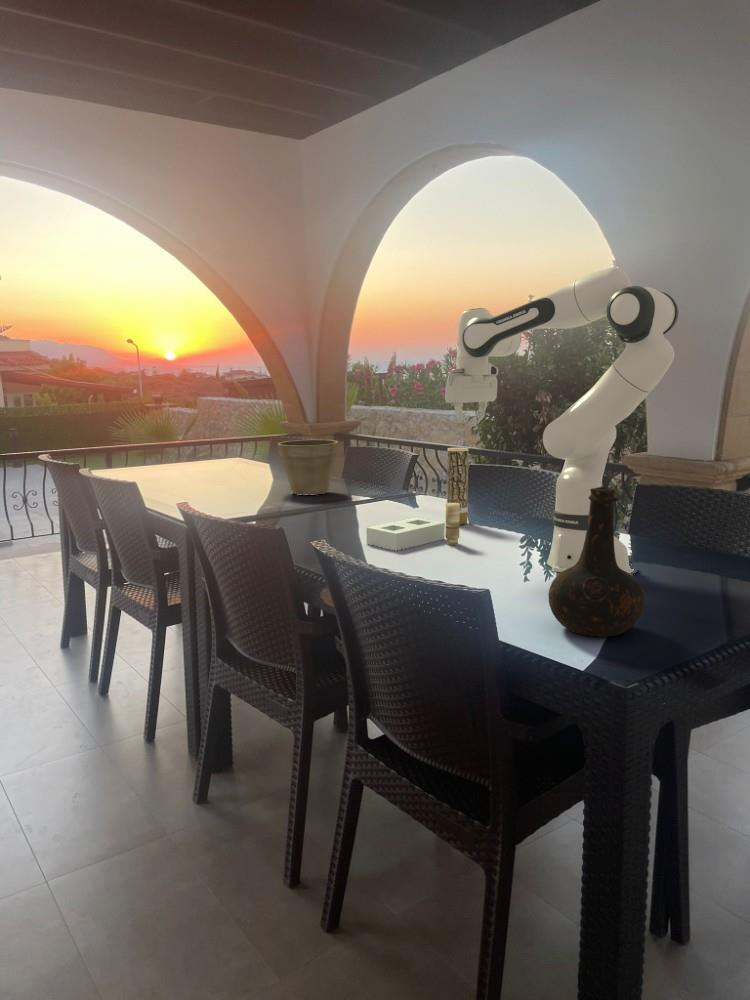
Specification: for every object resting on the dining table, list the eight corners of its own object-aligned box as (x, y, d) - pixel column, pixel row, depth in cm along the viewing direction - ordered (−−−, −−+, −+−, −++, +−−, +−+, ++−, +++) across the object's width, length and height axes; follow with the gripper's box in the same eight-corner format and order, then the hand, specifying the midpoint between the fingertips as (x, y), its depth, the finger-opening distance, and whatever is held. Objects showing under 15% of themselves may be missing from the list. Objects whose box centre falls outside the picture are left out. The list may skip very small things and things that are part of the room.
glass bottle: (541, 639, 137) (546, 492, 132) (553, 610, 153) (558, 479, 148) (642, 651, 131) (651, 498, 126) (644, 620, 147) (652, 483, 142)
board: (444, 539, 220) (444, 522, 219) (396, 551, 206) (395, 533, 205) (415, 533, 228) (415, 517, 228) (366, 544, 214) (366, 527, 213)
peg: (462, 544, 213) (462, 503, 211) (453, 546, 211) (453, 505, 208) (451, 541, 216) (451, 502, 214) (442, 544, 213) (442, 503, 211)
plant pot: (271, 497, 295) (269, 444, 292) (288, 488, 319) (287, 438, 316) (331, 499, 291) (330, 444, 288) (344, 489, 315) (343, 439, 312)
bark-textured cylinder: (466, 525, 239) (467, 449, 234) (445, 525, 240) (446, 449, 236) (468, 521, 245) (469, 447, 241) (447, 521, 246) (448, 447, 242)
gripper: (458, 368, 194) (457, 420, 196) (501, 369, 208) (500, 417, 211) (440, 368, 198) (438, 419, 200) (483, 368, 213) (481, 416, 215)
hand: (470, 418), depth 206 cm, fingers open, 8 cm apart
